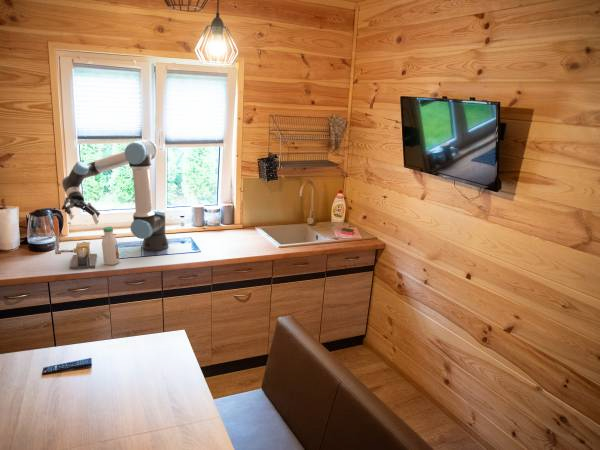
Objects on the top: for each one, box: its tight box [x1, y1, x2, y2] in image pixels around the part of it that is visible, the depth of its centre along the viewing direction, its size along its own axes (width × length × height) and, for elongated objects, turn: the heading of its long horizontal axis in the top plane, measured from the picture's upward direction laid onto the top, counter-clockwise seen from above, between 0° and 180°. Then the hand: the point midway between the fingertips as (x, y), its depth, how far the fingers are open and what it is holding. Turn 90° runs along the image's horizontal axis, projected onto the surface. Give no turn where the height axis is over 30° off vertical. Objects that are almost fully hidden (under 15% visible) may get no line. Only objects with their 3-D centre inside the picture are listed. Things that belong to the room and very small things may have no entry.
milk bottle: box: [101, 226, 120, 266], centre depth 247 cm, size 8×8×20 cm
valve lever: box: [52, 219, 74, 255], centre depth 241 cm, size 8×3×18 cm, turn 110°
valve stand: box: [69, 241, 98, 270], centre depth 247 cm, size 12×19×10 cm, turn 20°
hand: (85, 220), depth 245 cm, fingers open, 13 cm apart
